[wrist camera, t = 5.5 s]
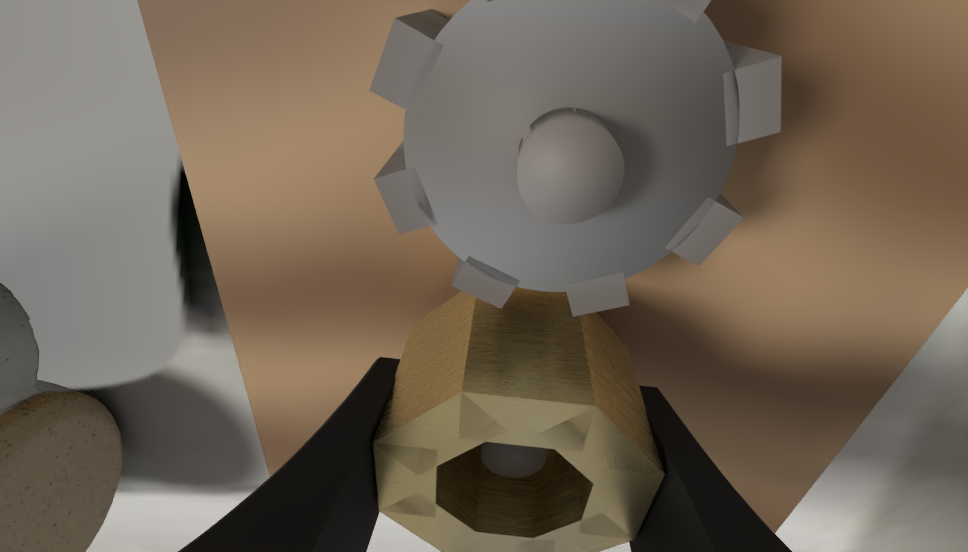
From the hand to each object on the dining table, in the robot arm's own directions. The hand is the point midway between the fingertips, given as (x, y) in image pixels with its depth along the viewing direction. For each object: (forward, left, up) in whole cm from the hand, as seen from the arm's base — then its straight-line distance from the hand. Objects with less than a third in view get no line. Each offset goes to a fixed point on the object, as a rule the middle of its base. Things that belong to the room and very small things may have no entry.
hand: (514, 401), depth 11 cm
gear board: (+1, -1, -3) cm, 3 cm away
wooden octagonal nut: (0, 0, -1) cm, 1 cm away
